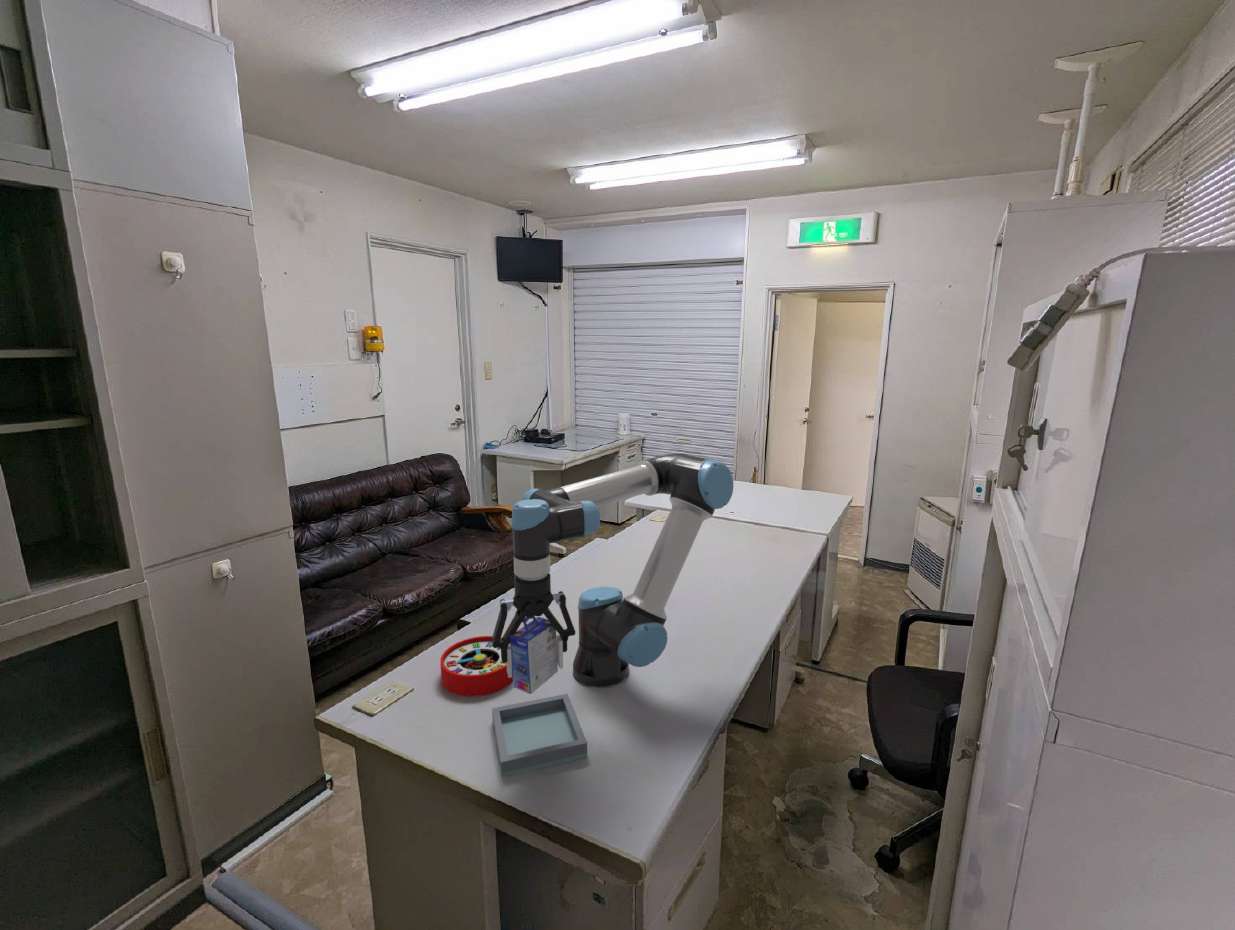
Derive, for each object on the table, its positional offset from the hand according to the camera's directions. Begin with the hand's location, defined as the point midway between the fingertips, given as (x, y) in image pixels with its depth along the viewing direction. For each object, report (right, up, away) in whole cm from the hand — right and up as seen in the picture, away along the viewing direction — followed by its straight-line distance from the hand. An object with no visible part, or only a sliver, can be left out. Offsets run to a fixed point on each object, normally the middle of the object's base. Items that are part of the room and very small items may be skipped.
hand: (535, 669), depth 118 cm
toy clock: (-19, -12, +28) cm, 36 cm away
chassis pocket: (0, -17, +3) cm, 17 cm away
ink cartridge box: (0, -2, 0) cm, 3 cm away
